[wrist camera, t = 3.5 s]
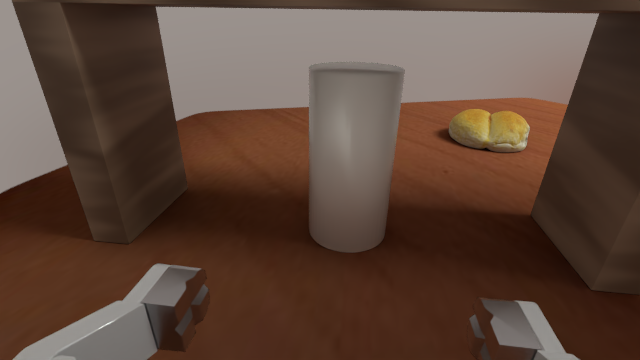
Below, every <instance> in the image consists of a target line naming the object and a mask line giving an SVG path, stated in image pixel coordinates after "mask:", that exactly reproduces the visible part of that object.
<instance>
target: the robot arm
mask: <svg viewBox="0 0 640 360" xmlns="http://www.w3.org/2000/svg"><path fill="white" fill-rule="evenodd" d="M206 279H207V277H206V273H205V270H203V269H200V268H192V267H185V266H177V265H166V264H159V263H158V264H155V265H153V266H152V267H151V268H150V270H149V271H148V272H147V273H146V274H145V275H144V277H143V278H142V279H141V280H140V281H139V282H138V283H137V285H136V286H135V287H134V288H133V289H132V290H131V291H130V293H129V294H128V295H127V296H126V297H125V298H124V299H123V301H116V302H114V303H112V304H110V305H108V306H106V307H104V308H102V309H100V310H98V311H96V312H94V313H92V314H90V315H88V316H86V317H84V318H83V319H81V320H79V321H77V322H75V323H73V324H71V325H69V326H67V327H65V328H63V329H61V330H59V331H57V332H55V333H53V334H51V335H49V336H47V337H45V338H43V339H42V340H40V341H38V342H36V343H34V344H32V345H30V346H28V347H26V348H24V349H23V350H22V351H21V352H20V353H19V354H18V355H17V356H16V357H15V358H14V359H13V360H147V359H148V358H149V357H151V356H152V355H153V354H154V353H156V352H157V351H158V350H157V349H161V350H171V351H181V352H186V350H187V348H188V346H189V344H190V343H191V341H192V339H193V337H194V335H195V334H196V330H195V325H197V324H198V323H200V322H201V321H203V319H204V317H205V315H206V313H207V310H208V306H209V301H210V294H209V289H208V288H207V287H206V286H205V285H204V283H205V281H206ZM473 309H474V312H475V315H473V316H472V317H470V318H469V322H468V326H467V340H468V345H469V349H470V352H471V354H472V355H473V356H474V357H475V358H476V359H477V360H579V359H578V358H577V357H575V356H574V355H573V354H566V352H565V350H564V348H563V347H562V345H561V343H560V342H559V340H558V338H557V337H556V335H555V333H554V332H553V330H552V328H551V327H550V325H549V323H548V322H547V320H546V318H545V316H544V315H543V313H542V311H541V310H540V308H539V306H538V305H537V304H536V303H534V302H527V301H516V300H515V301H513V300H503V299H493V298H482V297H477V298H476V299H475V301H474V304H473Z"/></svg>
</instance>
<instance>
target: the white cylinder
mask: <svg viewBox="0 0 640 360" xmlns="http://www.w3.org/2000/svg"><path fill="white" fill-rule="evenodd" d="M404 73H405V70H404V69H403V68H401V67H397V66H393V65H386V64H378V63H365V62H331V63H321V64H315V65H311V66H310V67H309V232H310V235H311V237H312V238H313V239H314V240H315V241H316V242H317V243H318V244H320V245H321V246H323V247H325V248H328V249H331V250H334V251H338V252H347V253H355V252H362V251H366V250H370V249H372V248H374V247H376V246H377V245H379V244H380V243H381V242H382V240H383V239H384V236H385V229H386V221H387V212H388V204H389V196H390V188H391V180H392V171H393V163H394V155H395V147H396V139H397V130H398V122H399V114H400V106H401V97H402V89H403V80H404Z"/></svg>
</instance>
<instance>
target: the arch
mask: <svg viewBox="0 0 640 360" xmlns="http://www.w3.org/2000/svg"><path fill="white" fill-rule="evenodd" d="M12 2H13V5H14V8H15V11H16V14H17V17H18V20H19V23H20V26H21V28H22V31H23V35H24V38H25V40H26V43H27V46H28V49H29V52H30V55H31V58H32V61H33V64H34V67H35V70H36V72H37V75H38V78H39V81H40V84H41V87H42V90H43V93H44V96H45V99H46V102H47V105H48V108H49V110H50V113H51V116H52V119H53V122H54V125H55V128H56V131H57V134H58V137H59V140H60V143H61V146H62V148H63V151H64V154H65V157H66V160H67V163H68V166H69V169H70V172H71V175H72V178H73V181H74V183H75V186H76V189H77V192H78V195H79V198H80V201H81V204H82V207H83V210H84V213H85V216H86V219H87V221H88V224H89V227H90V230H91V233H92V236H93V239H94V241H102V242H113V243H123V244H130V243H131V242H132V241H133V240H134V239H135V238H136V237H137V236H138V235H139V234H140V233H141V232H142V231H143V230H145V229H146V228H147V227H148V226H149V225H150V224H151V223H152V222H153V221H154V220H155V219H156V218H157V217H158V216H159V215H160V214H161V213H162V212H163V211H164V210H166V209H167V208H168V207H169V206H170V205H171V204H172V203H173V202H174V201H175V200H176V199H177V198H178V197H179V196H180V195H181V194H182V193H183V192H184V191H185V190H187V189H188V187H187V181H186V175H185V170H184V164H183V158H182V153H181V147H180V142H179V136H178V130H177V125H176V119H175V113H174V108H173V102H172V98H171V91H170V85H169V80H168V74H167V69H166V63H165V57H164V52H163V46H162V40H161V35H160V29H159V23H158V18H157V13H156V6H157V7H158V6H159V7H220V8H223V7H224V8H284V9H286V8H288V9H348V10H349V9H351V10H413V11H420V10H421V11H478V12H542V13H543V12H545V13H599V16H598V19H597V22H596V25H595V28H594V31H593V34H592V37H591V40H590V42H589V45H588V48H587V51H586V54H585V57H584V60H583V63H582V66H581V69H580V72H579V75H578V78H577V80H576V83H575V86H574V89H573V92H572V95H571V98H570V101H569V104H568V107H567V110H566V113H565V116H564V118H563V121H562V124H561V127H560V130H559V133H558V136H557V139H556V142H555V145H554V148H553V151H552V154H551V157H550V159H549V162H548V165H547V168H546V171H545V174H544V177H543V180H542V183H541V186H540V189H539V192H538V195H537V197H536V200H535V203H534V206H533V209H532V212H531V216H532V217H533V219H534V220H535V221H536V222H537V224H538V225H539V226H540V227H541V229H542V230H543V231H544V232H545V234H546V235H547V236H548V237H549V239H550V240H551V241H552V242H553V243H554V245H555V246H556V247H557V248H558V250H559V251H560V252H561V253H562V255H563V256H564V257H565V258H566V260H567V261H568V262H569V263H570V265H571V266H572V267H573V268H574V269H575V271H576V272H577V273H578V274H579V276H580V277H581V278H582V279H583V281H584V282H585V283H586V284H587V286H588V287H589V288H590V289H591V290H596V291H606V292H616V293H626V294H636V295H640V0H12Z"/></svg>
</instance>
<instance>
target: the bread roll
mask: <svg viewBox="0 0 640 360" xmlns="http://www.w3.org/2000/svg"><path fill="white" fill-rule="evenodd" d="M529 129H530V126H529V125H528V124H527V123H526V121H525V119H523V118H522V117H521V116H520V115H518V114H516V113H514V112H510V111H501V112H497V113H494V114H490V113H488V112H487V111H484V110H481V109H469V110H466V111H463V112H461V113H459V114H458V115H456V116H455V117H454V118H453V119H452V121H451V122H450V125H449V134H450V136H451V138H453V139H454V140H455V141H457V142H458V143H460V144H462V145H465V146H468V147H473V148H478V149H483V148H487V149H488V150H491V151H494V152H518V151H522V150H524V148H525V147H526V145H527V137H528V133H529Z"/></svg>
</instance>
